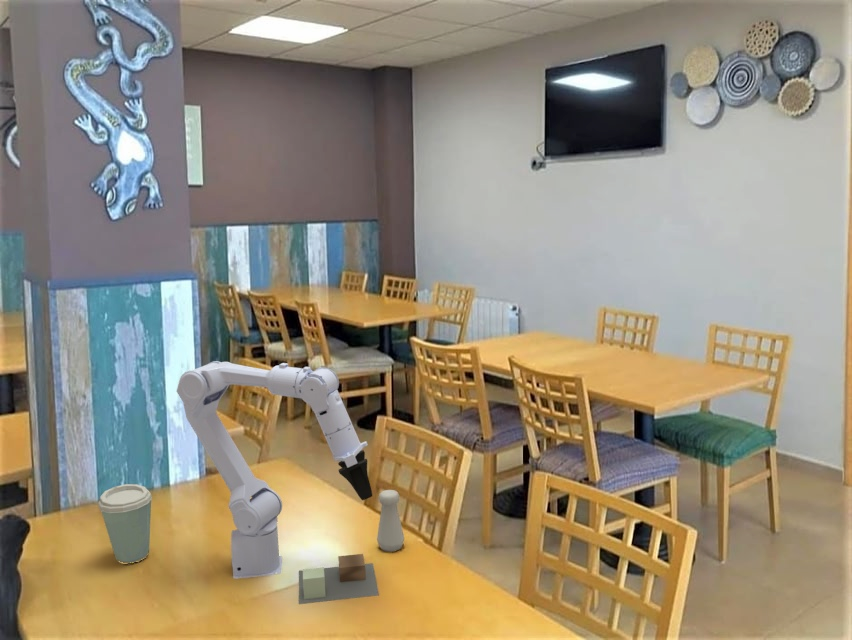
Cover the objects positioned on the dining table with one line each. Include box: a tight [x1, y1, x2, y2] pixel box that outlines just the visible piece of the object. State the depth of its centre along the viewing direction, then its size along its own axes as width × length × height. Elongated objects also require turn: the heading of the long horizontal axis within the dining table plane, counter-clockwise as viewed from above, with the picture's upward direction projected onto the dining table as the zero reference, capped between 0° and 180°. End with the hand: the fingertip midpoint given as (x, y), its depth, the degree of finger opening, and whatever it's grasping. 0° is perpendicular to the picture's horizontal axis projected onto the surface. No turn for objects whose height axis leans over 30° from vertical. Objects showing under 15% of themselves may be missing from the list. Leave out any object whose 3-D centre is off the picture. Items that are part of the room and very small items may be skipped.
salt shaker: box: [376, 489, 405, 553], centre depth 165 cm, size 6×6×13 cm
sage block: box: [302, 566, 326, 599], centre depth 147 cm, size 4×4×4 cm
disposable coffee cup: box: [97, 483, 153, 563], centre depth 164 cm, size 11×11×15 cm
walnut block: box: [337, 553, 366, 582], centre depth 154 cm, size 5×5×3 cm
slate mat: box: [298, 562, 380, 605], centre depth 151 cm, size 15×13×1 cm
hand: (366, 494), depth 148 cm, fingers open, 7 cm apart
